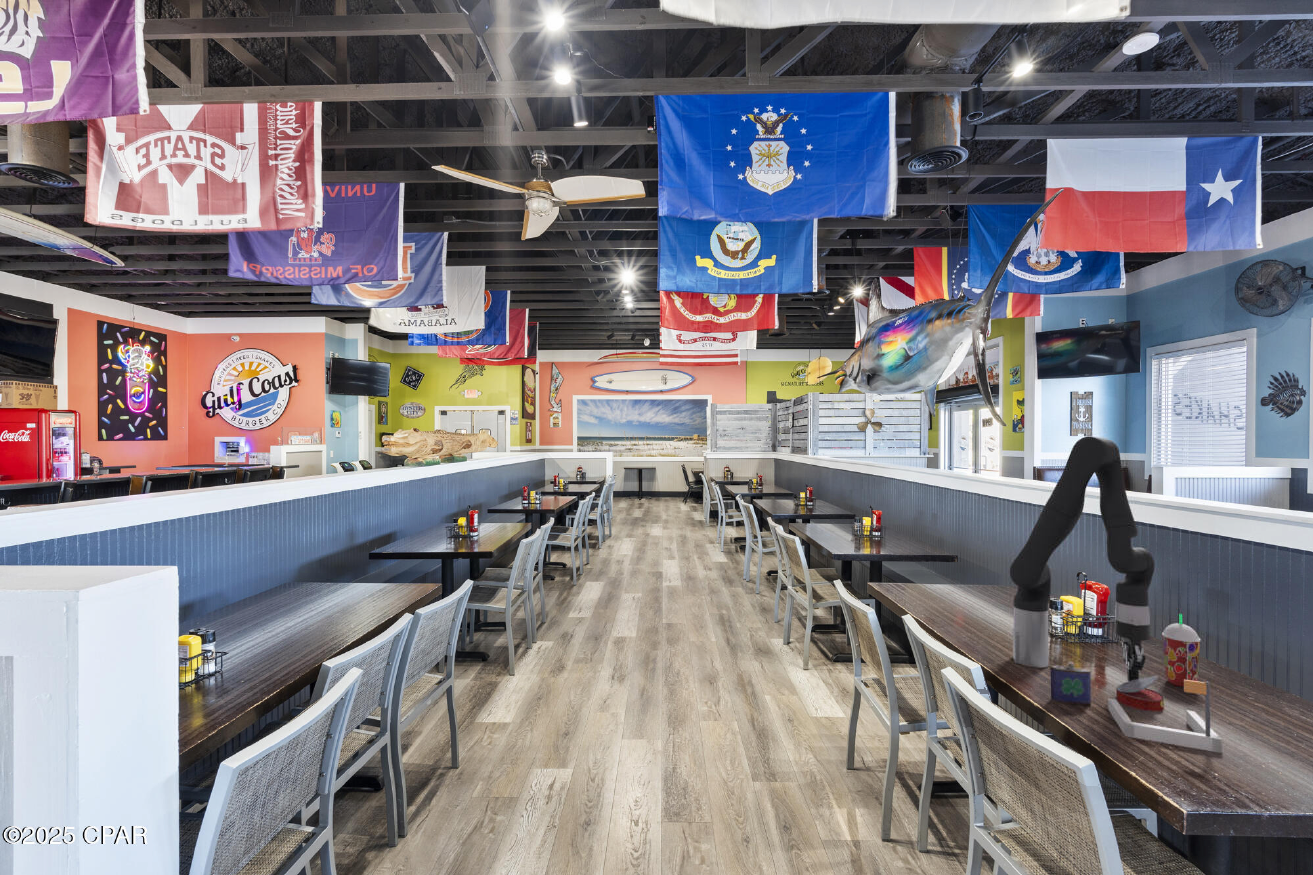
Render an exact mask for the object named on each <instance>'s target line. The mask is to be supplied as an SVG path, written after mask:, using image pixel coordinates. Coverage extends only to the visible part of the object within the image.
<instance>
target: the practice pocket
mask: <svg viewBox="0 0 1313 875" xmlns="http://www.w3.org/2000/svg"><path fill="white" fill-rule="evenodd" d="M1210 685H1211V684H1210V681H1206V680H1205V681H1191V680H1184V687H1183V691H1184V693H1190V694H1197V695H1204V708H1205V711H1204V712H1205V713H1204V715H1205V716H1204V717H1205V718H1204V719H1205V720H1203V718H1202V717H1201V716H1199V714H1198V713H1197V712H1196V711H1194V710H1193V711H1192V710H1187V709H1185V716H1186V718H1185V721H1186V722H1185V723H1186V724H1187V725H1188V726H1189V727H1190V728H1191V730H1192V731H1189V730H1184V729H1177V728H1170V727H1164V726H1157V725H1153V724H1146V723H1141V722H1133V720H1131V719H1130V717H1129V716H1128V714H1127V713H1126V711H1125V710H1124V708H1123V707H1122V706H1121V703H1120V702H1119V701H1118V700H1117V698H1110V697H1109V698H1108V699H1107V701H1108V702H1107V703H1108V704H1107V705H1108V706H1107V707H1108V708H1107V710H1108V712H1109V713H1110V715H1111V716H1112V718H1113V719H1114V720H1115V722H1116V724H1117V725H1118V727H1119V728H1120V730H1121V731H1122V732H1121V733H1123V735H1124V736H1125V737H1129V738H1134V739H1139V740H1144V741H1145V740H1146V741H1150V740H1151V741H1150V742H1155V743H1162V742H1163V743H1162V744H1168V745H1173V744H1174V745H1175V746H1179V747H1184V748H1191V749H1195V750H1202V751H1203V750H1204V751H1209V752H1213V753H1220V754H1222V753H1223V739H1222V738H1221V737H1220V735H1218V734H1217V733H1216V732H1215V730H1213V728H1211V686H1210Z"/></svg>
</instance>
